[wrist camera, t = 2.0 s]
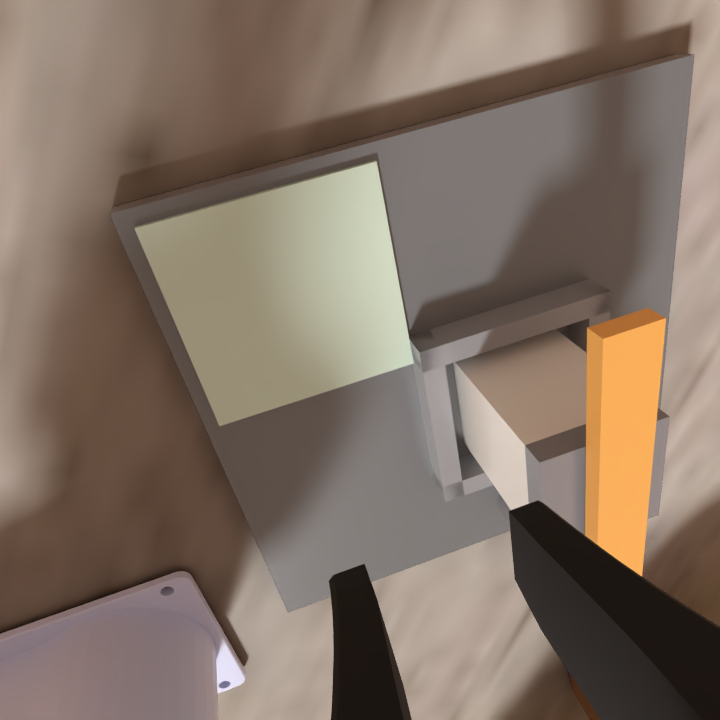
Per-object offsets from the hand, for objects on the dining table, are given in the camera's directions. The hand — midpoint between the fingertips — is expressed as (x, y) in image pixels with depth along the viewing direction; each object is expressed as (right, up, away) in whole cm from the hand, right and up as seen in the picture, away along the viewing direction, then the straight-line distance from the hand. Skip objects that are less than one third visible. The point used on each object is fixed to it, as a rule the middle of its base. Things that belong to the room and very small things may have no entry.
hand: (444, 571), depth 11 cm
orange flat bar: (+6, 0, +6) cm, 8 cm away
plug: (+4, +3, +11) cm, 12 cm away
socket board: (+2, +4, +11) cm, 12 cm away
